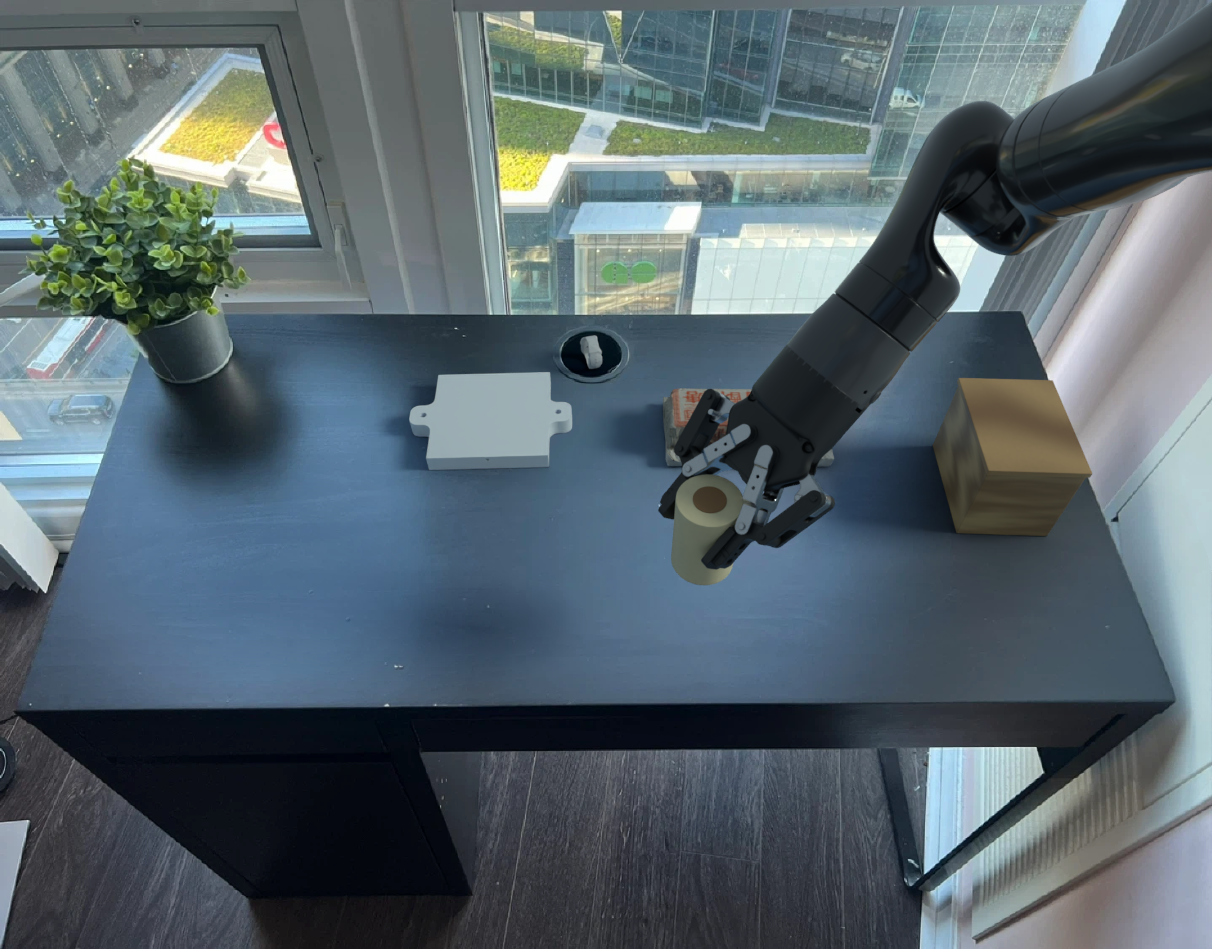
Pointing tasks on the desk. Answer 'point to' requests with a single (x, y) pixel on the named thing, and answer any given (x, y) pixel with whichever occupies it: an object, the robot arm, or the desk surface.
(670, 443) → the packaged product
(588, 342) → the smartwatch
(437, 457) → the mounting plate
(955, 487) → the oak box
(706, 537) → the toilet paper roll
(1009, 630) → the desk surface
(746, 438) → the robot arm
